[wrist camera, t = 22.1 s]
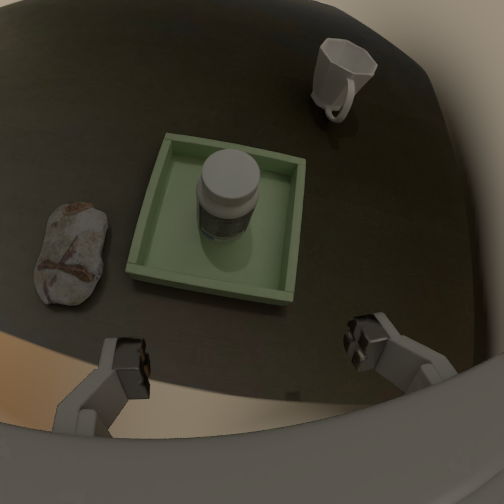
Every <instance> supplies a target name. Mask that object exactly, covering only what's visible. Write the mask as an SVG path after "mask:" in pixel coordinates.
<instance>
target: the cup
mask: <svg viewBox="0 0 504 504" xmlns="http://www.w3.org/2000/svg"><path fill="white" fill-rule="evenodd" d="M376 67H377V64H376V62H375V61H374V60H373V59H372V57H371V56H370V55H369V53H368V52H367V51H366V50H364V49H363V48H361V47H359V46H357V45H355V44H353V43H351V42H349V41H348V40H343V39H332V38H327V39H326V40H325V41H324V43H323V44H322V45H321V46H320V49H319V54H318V59H317V64H316V68H315V72H314V77H313V92H312V93H311V97H312V99H313V101H314V102H315V104H316V105H317V106H319V107H321V108H323V109H325V114H326V116H327V118H328V119H329V120H331V121H332V122H336V123H341V122H342V121H343V120H344V119H345V117H346V116H347V114H348V112H349V110H350V107H351V105H352V102H353V98H354V95H355V94H356V93H357V92H358V91H359V90H360V89H361V88H362V87H363V86H364V85H365V84H366V82H367V81H368V80H369V79H370V78H371V77H372V76H373V75H374V72H375V70H376ZM342 105H343V106H342ZM341 106H342V109H341V111H340V113H339V115H338V116H337V117H336V118H335V117H334V116H333V114H332V111H339V110H340V108H341Z"/></svg>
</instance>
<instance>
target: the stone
mask: <svg viewBox="0 0 504 504" xmlns="http://www.w3.org/2000/svg"><path fill="white" fill-rule="evenodd" d="M107 229H108V221H107V216H106V214H105V213H104V212H102V211H99V210H95V209H94V207H93V205H92V203H84V202H77V203H74V204H71V205H69V204H64V205H61V206H60V207H59V208H57V209H56V210H55V211H54V212H53V213H52V214H51V215H50V217H49V219H48V222H47V228H46V235H45V238H44V242H43V246H42V250H41V253H40V256H39V258H38V261H37V263H36V266H35V270H34V284H35V288H36V291H37V293H38V295H39V297H40V298H41V300H42V301H43V302H44V303H45V304H51V303H52V304H55V303H59V304H64V305H69V306H72V305H79V304H80V303H82V302H83V301H85V300H86V299H87V298H88V297H89V296H90V295H91V294H92V292H93V290H94V288H95V286H96V284H97V282H98V280H99V279H100V277H101V275H102V270H103V261H102V257H101V255H102V249H103V246H104V241H105V236H106V231H107Z"/></svg>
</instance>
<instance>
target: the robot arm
mask: <svg viewBox="0 0 504 504" xmlns="http://www.w3.org/2000/svg"><path fill="white" fill-rule="evenodd" d="M347 325H348V327H349V329H348V330H347V331H346V332H345V334H344V338H343V343H344V348H345V351H346V352H347V354H348V355H350V356H352V361H351V362H352V364H353V365H354V367H355V369H356V371H357V373H359V372H363V371H368V370H373V369H375V371H377V372H378V373H380V374H381V375H382V376H384V377H385V378H386V379H388V380H389V381H390V382H392V383H393V384H395V385H396V386H397V387H399V388H400V389H401V390H403V391H404V392H405V393H404V395H403V396H401V397H398V398H395V399H392V400H389V401H386V402H383V403H380V404H377V405H373V406H370V407H367V408H363V409H360V410H356V411H353V412H349V413H345V414H342V415H337V416H334V417H329V418H325V419H321V420H317V421H312V422H307V423H302V424H297V425H292V426H287V427H281V428H275V429H269V430H263V431H256V432H248V433H240V434H231V435H221V436H210V437H195V438H173V439H127V438H113V437H112V436H111V434H110V433H109V431H108V429H109V427H110V426H111V425H112V423H113V421H114V420H115V419H116V417H117V416H118V415H119V413H120V412H121V410H122V409H123V408H124V406H125V405H126V403H127V402H128V399H149V396H150V384H149V380H148V378H149V377H150V373H151V368H150V359H149V354H148V352H147V351H145V350H146V343H145V340H144V338H143V337H118V338H105V340H104V343H103V347H102V352H101V356H100V361H99V366H98V369H94V370H93V371H92V372H91V373H90V374H89V375H88V376H87V377H86V378H85V379H84V380H83V381H82V382H81V383H80V384H79V385H78V386H77V387H76V388H75V389H74V390H73V391H72V392H71V393H70V394H69V395H68V396H66V398H64V400H62V401H61V402H60V403H59V404H58V406H57V410H56V414H55V418H54V423H53V428H52V432H50V431H43V430H37V429H31V428H26V427H20V426H16V425H11V424H6V423H2V422H0V504H504V352H502V353H500V354H498V355H496V356H495V357H493V358H491V359H489V360H487V361H485V362H483V363H481V364H479V365H477V366H475V367H472V368H470V369H468V370H466V371H464V372H462V373H459V374H458V373H457V372H456V370H455V369H454V368H453V366H452V365H451V364H450V362H449V361H448V360H447V358H446V357H445V356H443V355H441V354H439V353H438V352H436V351H434V350H432V349H430V348H428V347H426V346H424V345H422V344H420V343H418V342H416V341H414V340H412V339H410V338H408V337H406V336H404V335H403V336H401V335H400V334H399V333H398V331H397V330H396V329H395V327H394V326H393V325H392V323H391V322H390V321H389V319H388V318H387V317H386V315H385V314H384V313H382V312H378V313H373V314H368V315H362V316H357V317H351V318H350V319H349V321H348V324H347Z"/></svg>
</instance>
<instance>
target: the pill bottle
mask: <svg viewBox="0 0 504 504" xmlns="http://www.w3.org/2000/svg"><path fill="white" fill-rule="evenodd" d="M259 181H260V170H259V167H258V164H257V163H256V161H255V160H254V159H253V158H252V157H251V156H250V155H248V154H247V153H245V152H243V151H240V150H236V149H224V150H220V151H217V152H215V153H213V154H212V155H210V156H209V157H208V158H207V159H206V161H205V162H204V164H203V167H202V172H201V175H200V177H199V179H198V182H197V186H196V199H197V222H198V226H199V228H200V230H201V232H202V233H203V234H204V235H205V236H206V237H207V238H209V239H210V240H212V241H215V242H219V243H227V242H232V241H234V240H236V239H238V238H239V237H241V236H242V235H243V234H244V232H245V231H246V229H247V227H248V225H249V222H250V219H251V217H252V214H253V212H254V209H255V206H256V204H257V202H258V199H259V192H260V189H259Z"/></svg>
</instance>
